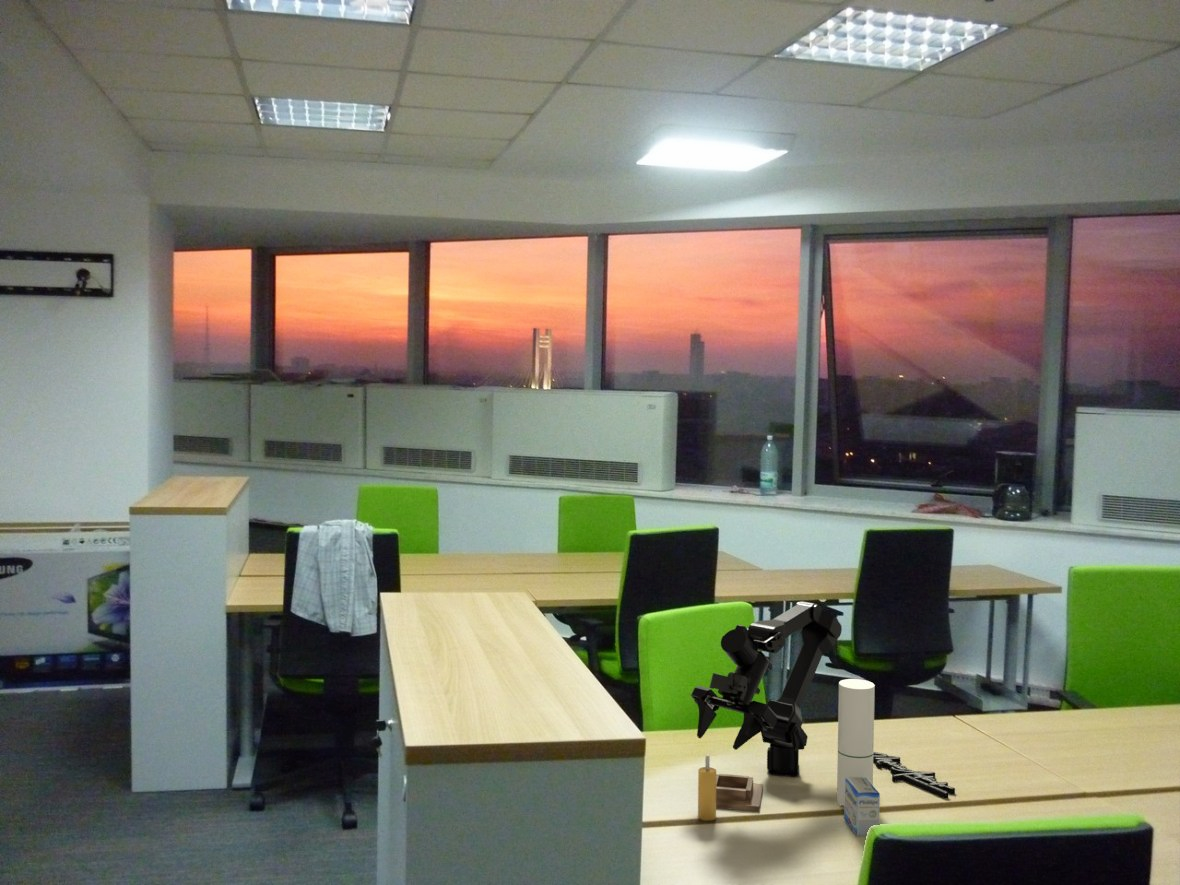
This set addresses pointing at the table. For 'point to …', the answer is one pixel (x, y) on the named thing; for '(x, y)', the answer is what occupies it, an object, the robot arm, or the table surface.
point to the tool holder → (738, 792)
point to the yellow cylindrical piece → (707, 792)
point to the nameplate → (912, 775)
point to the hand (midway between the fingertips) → (716, 743)
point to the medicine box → (861, 805)
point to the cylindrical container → (855, 732)
